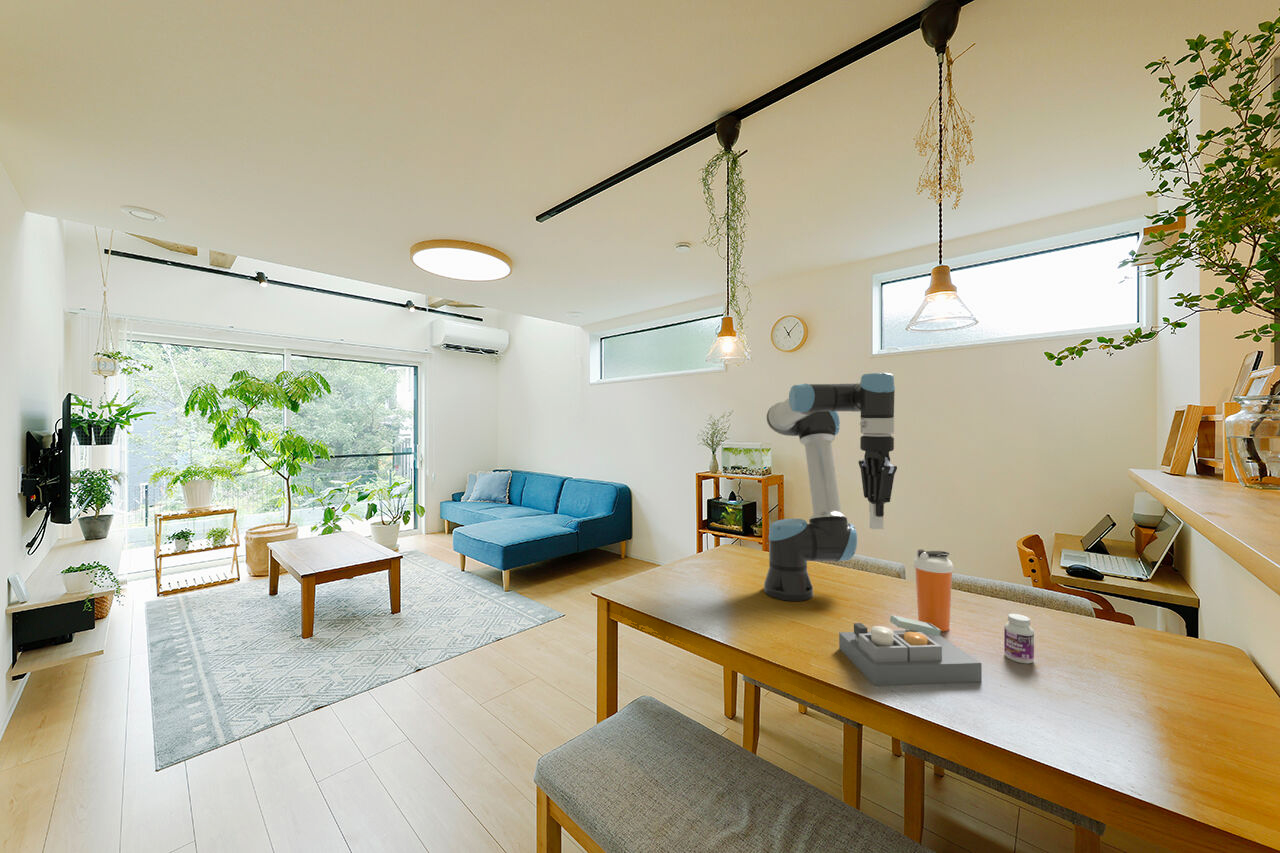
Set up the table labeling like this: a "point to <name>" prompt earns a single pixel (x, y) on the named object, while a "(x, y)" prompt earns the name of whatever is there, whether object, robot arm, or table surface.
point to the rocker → (915, 625)
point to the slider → (859, 629)
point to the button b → (915, 638)
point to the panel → (910, 660)
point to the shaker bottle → (934, 587)
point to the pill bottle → (1019, 639)
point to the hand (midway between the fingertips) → (876, 528)
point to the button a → (882, 636)
